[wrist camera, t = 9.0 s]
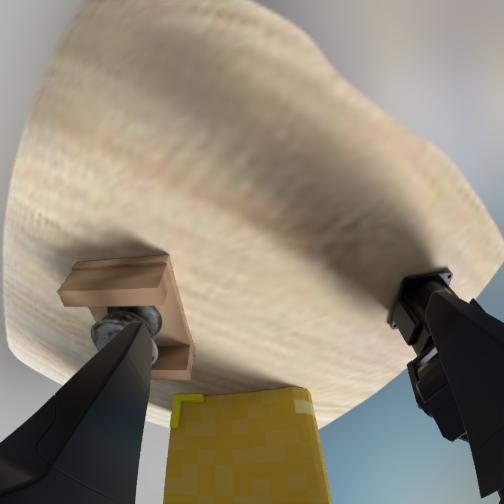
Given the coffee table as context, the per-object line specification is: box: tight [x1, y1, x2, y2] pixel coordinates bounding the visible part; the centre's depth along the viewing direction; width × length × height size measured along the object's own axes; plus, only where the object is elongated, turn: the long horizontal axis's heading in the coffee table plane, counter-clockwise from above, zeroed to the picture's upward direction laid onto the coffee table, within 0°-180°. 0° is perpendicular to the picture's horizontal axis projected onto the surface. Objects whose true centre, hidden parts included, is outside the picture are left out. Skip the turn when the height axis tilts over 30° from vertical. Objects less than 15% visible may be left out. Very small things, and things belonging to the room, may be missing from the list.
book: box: [163, 387, 332, 504], centre depth 21 cm, size 17×7×25 cm, turn 98°
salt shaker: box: [91, 305, 162, 364], centre depth 18 cm, size 6×6×12 cm
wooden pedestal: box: [57, 254, 195, 380], centre depth 22 cm, size 9×11×4 cm
